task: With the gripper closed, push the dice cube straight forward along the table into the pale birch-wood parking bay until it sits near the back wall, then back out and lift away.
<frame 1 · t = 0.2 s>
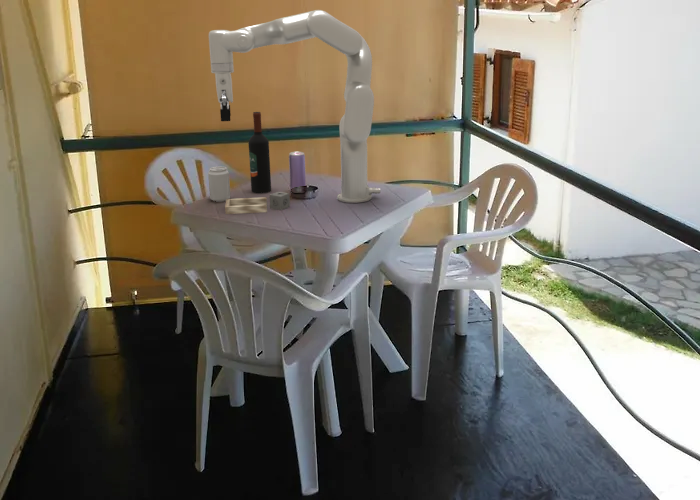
hand: (225, 118, 252), 31 cm above the table, fingers open, 9 cm apart
dice cube: (280, 208, 257), on the table
beverage can: (298, 192, 277), on the table
bay: (246, 208, 256), on the table
wine bottle: (261, 191, 279), on the table
can: (220, 200, 268), on the table
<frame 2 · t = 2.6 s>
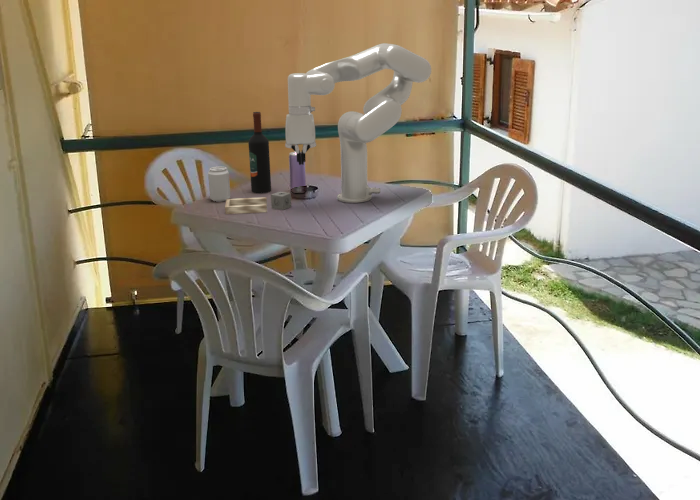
hand: (301, 163, 253), 15 cm above the table, fingers closed
nothing on the table moved.
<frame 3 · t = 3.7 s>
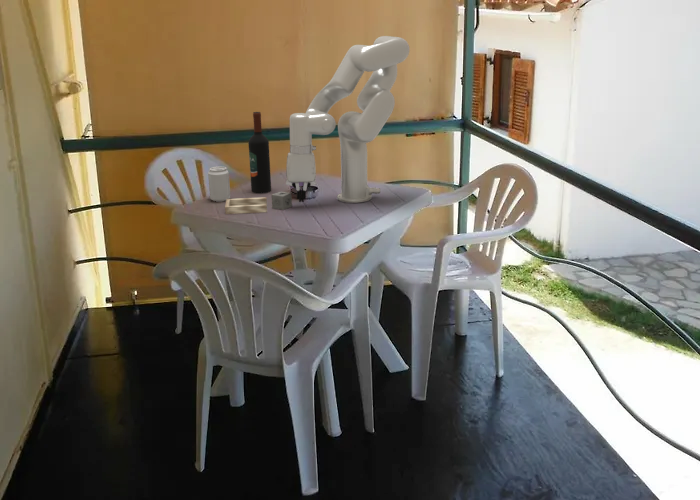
hand: (301, 200, 257), 2 cm above the table, fingers closed
nothing on the table moved.
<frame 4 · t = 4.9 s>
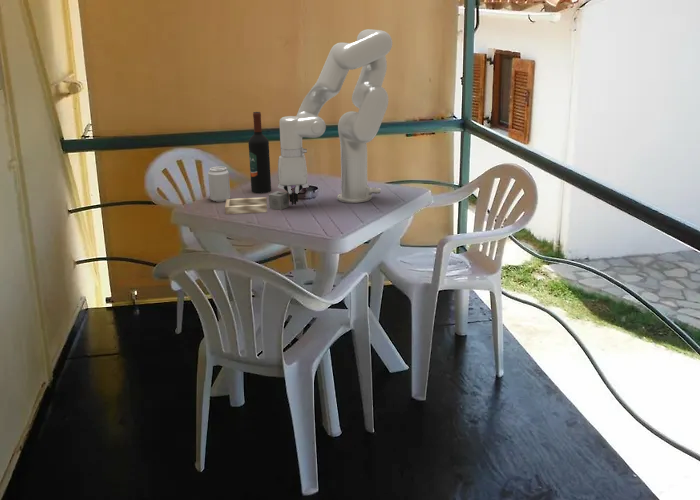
hand: (293, 203, 257), 1 cm above the table, fingers closed
dice cube: (279, 207, 258), on the table, touching gripper
everything else where it was.
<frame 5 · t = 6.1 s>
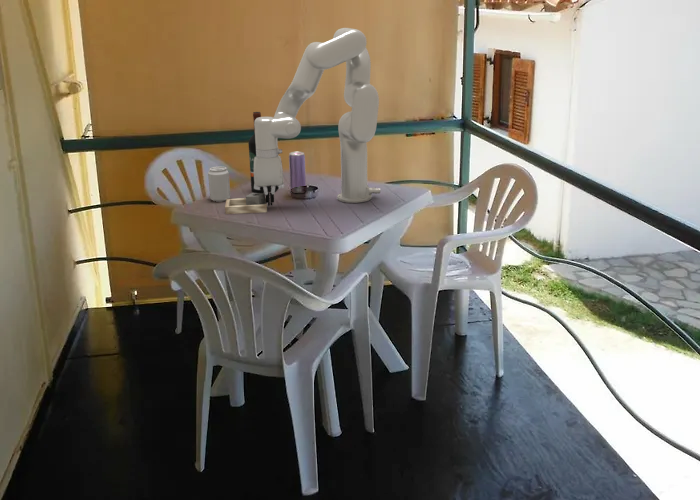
hand: (270, 204, 257), 1 cm above the table, fingers closed
dice cube: (256, 209, 256), on the table, touching gripper
everything else where it was.
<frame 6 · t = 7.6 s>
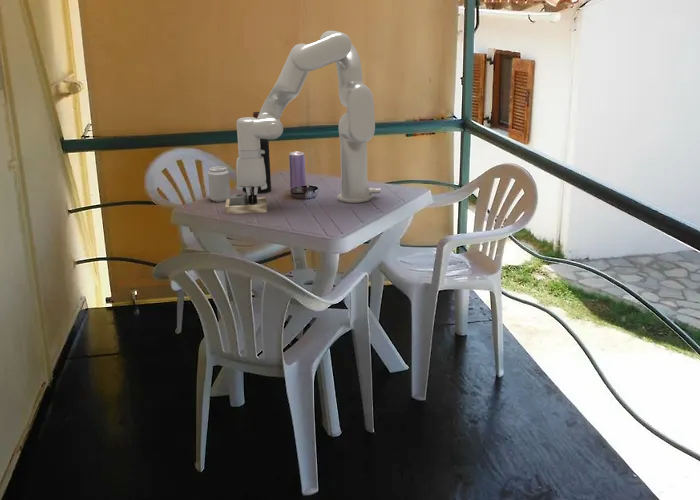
hand: (253, 205, 256), 1 cm above the table, fingers closed
dice cube: (240, 210, 255), on the table, touching bay, gripper
everything else where it was.
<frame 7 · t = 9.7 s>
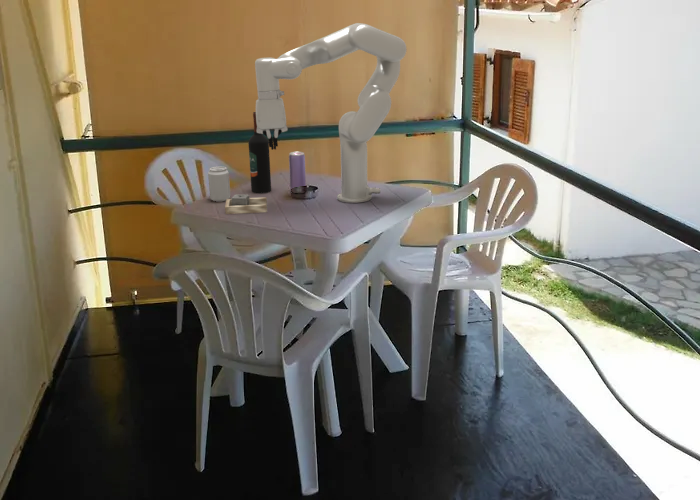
hand: (273, 148, 253), 21 cm above the table, fingers closed
dice cube: (241, 210, 255), on the table
everything else where it was.
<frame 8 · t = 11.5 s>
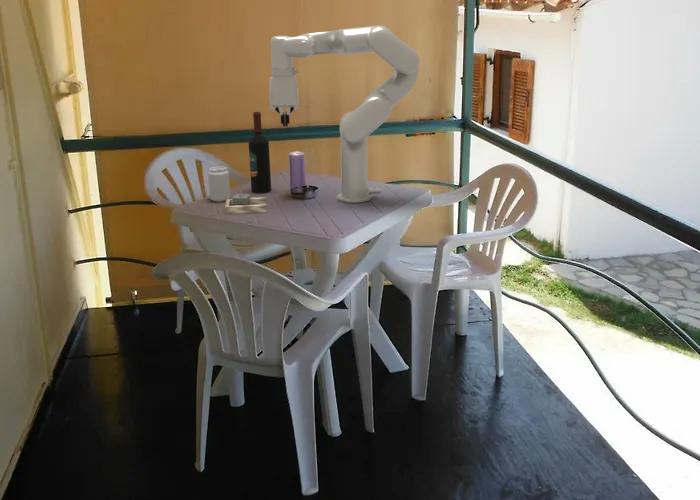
hand: (285, 125, 258), 27 cm above the table, fingers closed
nothing on the table moved.
at the end: dice cube inside the target area (0.8 cm from its centre), on the table; dice cube tilted 0°; dice cube moved 13.2 cm from its start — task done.
